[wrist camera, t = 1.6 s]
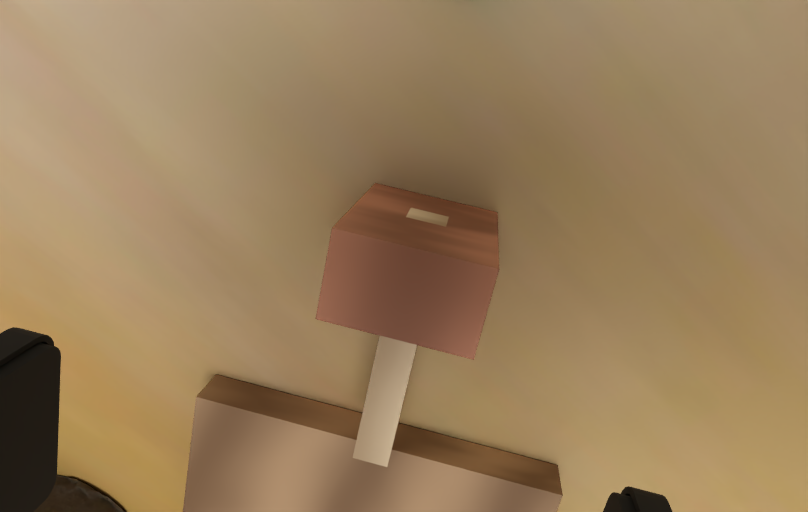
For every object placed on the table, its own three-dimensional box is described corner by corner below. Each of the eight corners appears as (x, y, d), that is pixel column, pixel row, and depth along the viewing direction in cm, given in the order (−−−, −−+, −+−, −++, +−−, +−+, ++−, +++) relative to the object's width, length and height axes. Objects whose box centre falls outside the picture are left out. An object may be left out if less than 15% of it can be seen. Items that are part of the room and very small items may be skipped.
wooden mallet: (497, 212, 24) (498, 269, 18) (440, 423, 27) (423, 538, 21) (375, 182, 24) (331, 227, 18) (333, 394, 28) (283, 498, 21)
